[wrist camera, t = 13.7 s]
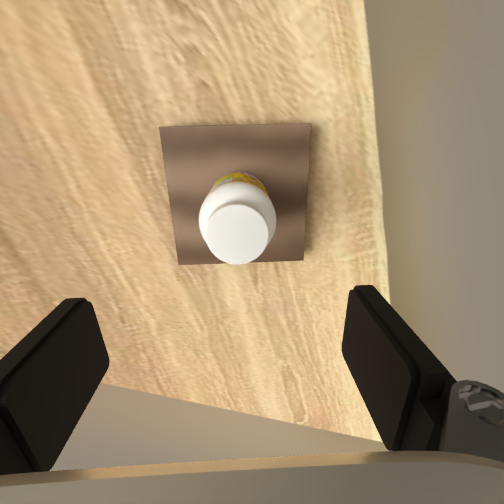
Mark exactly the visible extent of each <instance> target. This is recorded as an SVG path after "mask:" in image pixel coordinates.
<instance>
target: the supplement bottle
mask: <svg viewBox="0 0 504 504" xmlns="http://www.w3.org/2000/svg"><path fill="white" fill-rule="evenodd" d="M199 228H200V232H201V234H202V237H203V239H204V240H205V242H206V243H207V245H208V247H209V249H210V251H211V252H212V253H213V254H214V255H215V256H216V257H217V258H218V259H220V260H222V261H223V262H226V263H229V264H236V265H239V264H245V263H249V262H251V261H253V260H255V259H256V258H258V257H259V256H260V255H261V254H262V253H263V251H264V250H265V248H266V246H267V245H268V244H269V242H270V241H271V239H272V237H273V235H274V232H275V228H276V213H275V209H274V207H273V204H272V202H271V200H270V198H269V196H268V193H267V191H266V189H265V187H264V186H263V184H262V183H261V182H260V181H259V180H258V179H257V178H256V177H255V176H253V175H251V174H249V173H246V172H240V171H237V172H231V173H228V174H225V175H224V176H222V177H221V178H219V179H218V180H217V181H216V182H215V184H214V185H213V187H212V188H211V190H210V192H209V193H208V195H207V197H206V198H205V200H204V202H203V204H202V206H201V209H200V213H199Z"/></svg>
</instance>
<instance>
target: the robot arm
mask: <svg viewBox="0 0 504 504" xmlns="http://www.w3.org/2000/svg"><path fill="white" fill-rule="evenodd" d="M342 354H343V357H344V359H345V361H346V364H347V366H348V368H349V370H350V372H351V374H352V376H353V379H354V381H355V383H356V385H357V387H358V389H359V391H360V394H361V396H362V398H363V400H364V402H365V404H366V406H367V409H368V411H369V413H370V415H371V417H372V419H373V421H374V424H375V426H376V428H377V430H378V432H379V434H380V436H381V439H382V441H383V443H384V445H385V447H386V448H387V449H388V450H389V451H387V452H360V453H337V454H319V455H301V456H285V457H266V458H248V459H232V460H215V461H200V462H183V463H168V464H151V465H137V466H121V467H107V468H91V469H76V470H62V471H49V470H50V469H51V468H52V467H53V465H54V464H55V462H56V460H57V458H58V457H59V455H60V453H61V451H62V450H63V448H64V446H65V444H66V442H67V441H68V439H69V437H70V435H71V433H72V432H73V429H74V428H75V426H76V424H77V423H78V421H79V419H80V417H81V415H82V414H83V412H84V410H85V409H86V407H87V405H88V403H89V401H90V400H91V398H92V396H93V394H94V393H95V391H96V389H97V387H98V385H99V384H100V382H101V380H102V378H103V377H104V375H105V373H106V371H107V369H108V367H109V356H108V353H107V350H106V347H105V344H104V340H103V337H102V334H101V331H100V327H99V324H98V321H97V318H96V315H95V311H94V308H93V305H92V303H91V302H88V301H87V300H86V299H85V298H68V299H65V300H63V301H62V302H61V303H60V304H59V305H58V306H57V307H56V308H55V309H54V310H53V311H52V312H51V313H50V314H49V315H47V316H46V317H45V318H44V319H43V320H42V321H41V322H40V323H39V324H38V325H37V326H36V327H35V328H34V329H33V330H32V331H31V332H29V333H28V334H27V335H26V336H25V337H24V338H23V339H22V340H21V341H20V342H19V343H18V344H17V345H16V346H15V347H14V348H12V349H11V350H10V351H9V352H8V353H7V354H6V355H5V356H4V357H3V358H2V359H1V360H0V504H504V393H502V392H501V391H499V390H497V389H495V388H493V387H491V386H489V385H487V384H484V383H481V382H478V381H470V380H463V381H458V382H457V381H456V380H455V379H454V378H453V376H452V375H451V374H450V373H449V371H448V370H447V369H446V368H445V367H444V366H443V365H442V363H441V362H440V361H439V360H438V359H437V358H436V357H435V355H434V354H433V353H432V352H431V351H430V350H429V349H428V347H427V346H426V345H425V344H424V343H423V342H422V341H421V340H420V338H419V337H418V336H417V335H416V334H415V333H414V332H413V330H412V329H411V328H410V327H409V326H408V325H407V324H406V322H405V321H404V320H403V319H402V318H401V317H400V316H399V314H398V313H397V312H396V311H395V310H394V309H393V308H392V307H391V305H390V304H389V303H388V302H387V301H386V300H385V299H384V297H383V296H382V295H381V294H380V293H379V292H378V291H377V290H376V288H375V287H374V286H373V285H359V286H355V287H354V290H350V292H349V297H348V304H347V311H346V319H345V326H344V333H343V341H342Z"/></svg>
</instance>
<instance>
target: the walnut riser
mask: <svg viewBox="0 0 504 504" xmlns="http://www.w3.org/2000/svg"><path fill="white" fill-rule="evenodd" d="M159 130H160V137H161V144H162V152H163V159H164V166H165V173H166V180H167V187H168V194H169V201H170V208H171V215H172V222H173V229H174V236H175V243H176V250H177V257H178V264H179V265H193V264H220V263H226V262H223V261H222V260H220V259H218V258H217V257H216V256H215V255H214V254H213V253H212V252H211V251H210V249H209V247H208V245H207V243H206V242H205V240H204V239H203V237H202V234H201V232H200V228H199V213H200V209H201V206H202V204H203V202H204V200H205V198H206V197H207V195H208V193H209V192H210V190H211V188H212V187H213V185H214V184H215V182H216V181H217V180H218V179H219V178H221V177H222V176H224V175H225V174H228V173H231V172H237V171H240V172H246V173H249V174H251V175H253V176H255V177H256V178H257V179H258V180H259V181H260V182H261V183H262V184H263V186H264V187H265V189H266V191H267V193H268V196H269V198H270V200H271V202H272V204H273V207H274V209H275V213H276V228H275V232H274V235H273V237H272V239H271V241H270V242H269V244H268V245H267V246H266V248H265V250H264V251H263V253H262V254H261V255H260V256H259V257H258V258H256V259H255V260H253V261H251V262H274V261H301V260H303V258H304V241H305V224H306V207H307V190H308V172H309V155H310V138H311V123H309V124H265V125H220V126H175V127H159Z"/></svg>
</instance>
